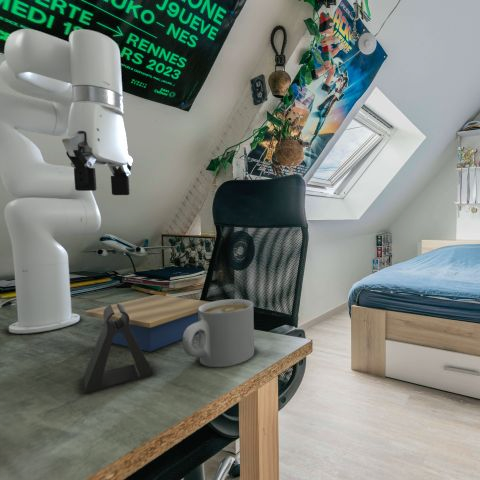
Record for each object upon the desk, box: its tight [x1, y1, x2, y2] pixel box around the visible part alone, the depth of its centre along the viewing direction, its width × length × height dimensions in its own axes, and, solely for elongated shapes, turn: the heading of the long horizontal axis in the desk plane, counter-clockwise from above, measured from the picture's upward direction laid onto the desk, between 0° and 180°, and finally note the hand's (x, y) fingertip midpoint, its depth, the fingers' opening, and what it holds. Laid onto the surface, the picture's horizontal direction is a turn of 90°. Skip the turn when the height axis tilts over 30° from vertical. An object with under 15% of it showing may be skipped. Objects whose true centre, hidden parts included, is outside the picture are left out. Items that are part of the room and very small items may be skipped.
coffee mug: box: [182, 298, 255, 368], centre depth 62 cm, size 13×10×10 cm
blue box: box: [110, 312, 199, 353], centre depth 73 cm, size 14×12×6 cm
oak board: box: [85, 294, 211, 328], centre depth 72 cm, size 20×16×1 cm
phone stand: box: [83, 303, 154, 394], centre depth 54 cm, size 9×6×12 cm, turn 132°
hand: (104, 192), depth 63 cm, fingers open, 9 cm apart
